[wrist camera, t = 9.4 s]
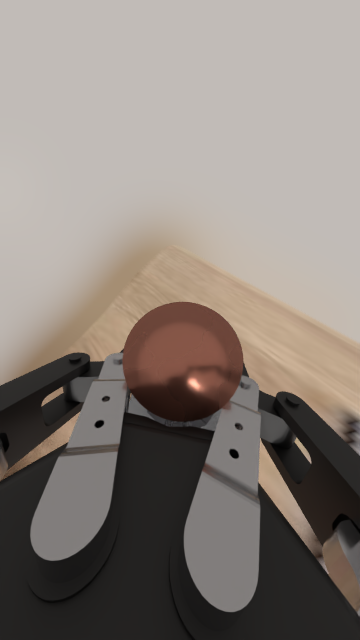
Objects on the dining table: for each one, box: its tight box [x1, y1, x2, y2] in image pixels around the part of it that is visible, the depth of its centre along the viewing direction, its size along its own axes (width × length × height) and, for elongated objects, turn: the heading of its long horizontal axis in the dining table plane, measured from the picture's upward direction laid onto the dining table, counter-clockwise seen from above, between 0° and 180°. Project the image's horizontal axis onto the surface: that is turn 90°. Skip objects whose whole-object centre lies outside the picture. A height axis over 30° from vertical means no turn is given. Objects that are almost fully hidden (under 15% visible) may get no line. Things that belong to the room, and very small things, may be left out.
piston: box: [123, 302, 243, 422], centre depth 11 cm, size 4×4×10 cm
